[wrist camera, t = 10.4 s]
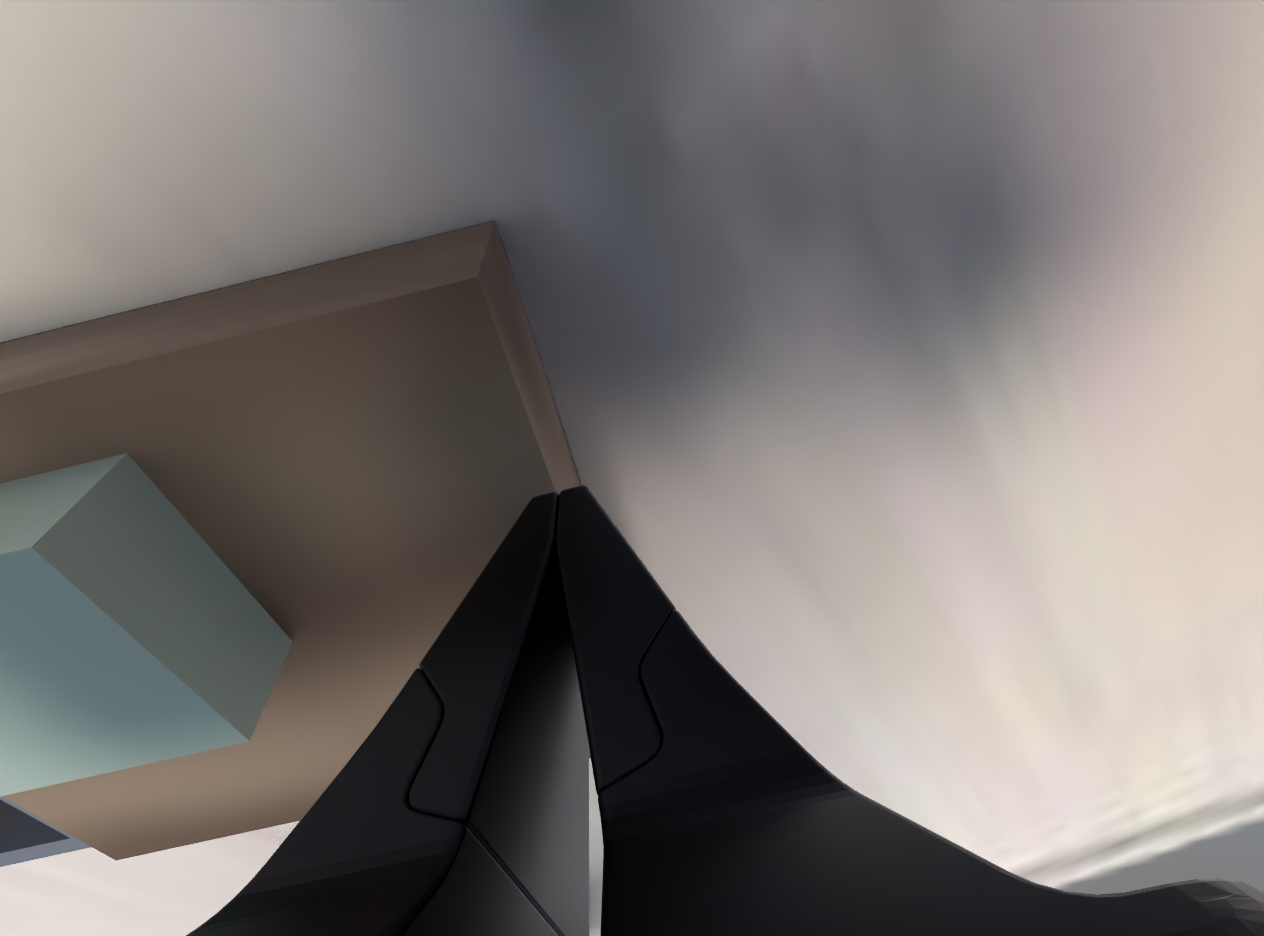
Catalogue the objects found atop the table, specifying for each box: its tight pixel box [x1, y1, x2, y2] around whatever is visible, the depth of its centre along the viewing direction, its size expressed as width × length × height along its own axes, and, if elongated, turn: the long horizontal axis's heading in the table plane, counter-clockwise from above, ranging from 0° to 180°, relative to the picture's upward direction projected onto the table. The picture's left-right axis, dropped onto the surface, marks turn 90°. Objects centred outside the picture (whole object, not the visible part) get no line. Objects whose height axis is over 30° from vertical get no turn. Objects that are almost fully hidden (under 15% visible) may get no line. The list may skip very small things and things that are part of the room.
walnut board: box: [0, 221, 591, 860], centre depth 13 cm, size 12×14×3 cm
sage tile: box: [0, 453, 293, 796], centre depth 9 cm, size 4×4×2 cm
